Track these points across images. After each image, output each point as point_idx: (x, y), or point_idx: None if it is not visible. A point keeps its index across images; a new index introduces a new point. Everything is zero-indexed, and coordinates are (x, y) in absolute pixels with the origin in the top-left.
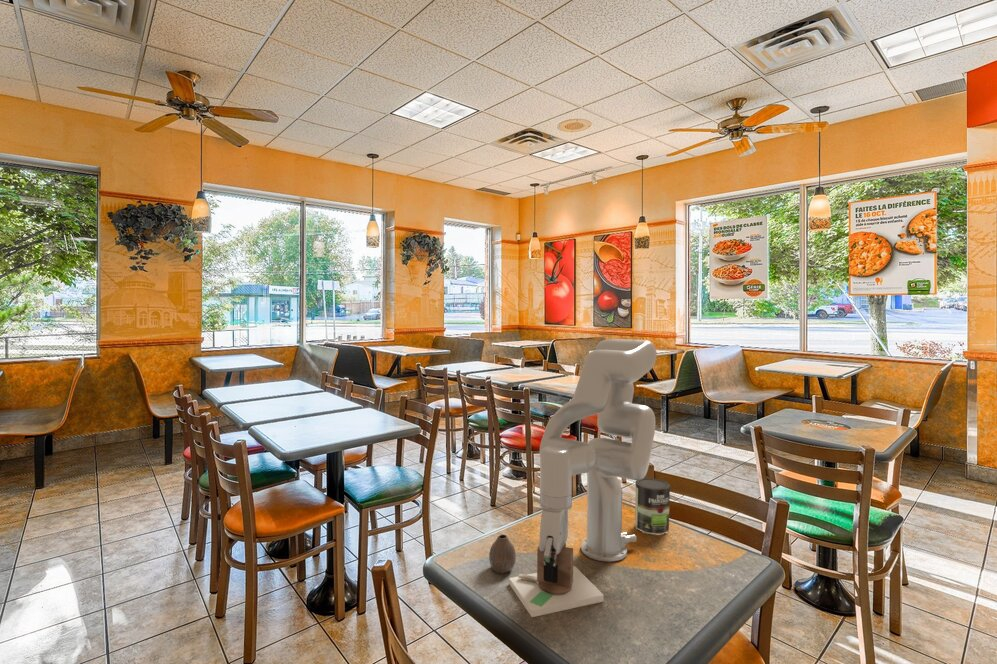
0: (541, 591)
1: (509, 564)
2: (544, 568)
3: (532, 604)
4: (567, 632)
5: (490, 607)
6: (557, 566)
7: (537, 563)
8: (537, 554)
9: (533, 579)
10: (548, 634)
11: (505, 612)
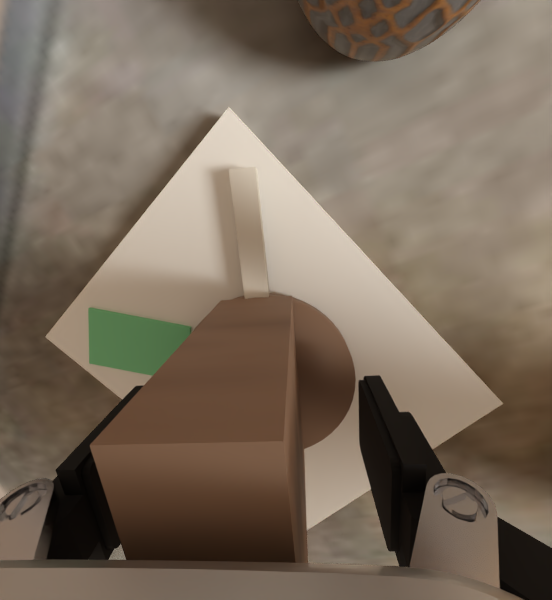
0: (189, 330)
1: (327, 32)
2: (88, 442)
3: (82, 324)
4: (73, 449)
5: (11, 128)
6: (96, 557)
7: (179, 347)
8: (142, 390)
9: (242, 269)
10: (26, 403)
11: (27, 214)
